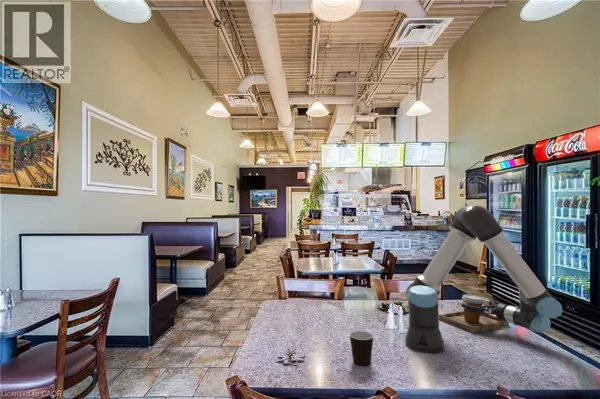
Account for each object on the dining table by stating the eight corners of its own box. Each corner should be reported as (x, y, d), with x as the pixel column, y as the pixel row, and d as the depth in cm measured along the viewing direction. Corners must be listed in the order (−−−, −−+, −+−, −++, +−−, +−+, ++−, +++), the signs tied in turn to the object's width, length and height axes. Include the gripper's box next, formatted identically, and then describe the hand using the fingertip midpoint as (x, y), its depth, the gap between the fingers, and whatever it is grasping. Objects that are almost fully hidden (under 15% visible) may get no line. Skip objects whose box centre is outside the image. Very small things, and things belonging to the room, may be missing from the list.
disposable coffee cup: (481, 319, 156) (482, 296, 157) (484, 326, 148) (485, 301, 148) (460, 316, 160) (461, 293, 160) (461, 322, 151) (462, 297, 152)
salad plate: (390, 302, 193) (390, 295, 193) (418, 308, 180) (418, 300, 180) (373, 309, 179) (373, 301, 180) (401, 316, 166) (401, 308, 167)
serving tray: (472, 333, 141) (472, 327, 142) (438, 319, 160) (438, 314, 160) (508, 325, 150) (508, 320, 150) (472, 313, 169) (472, 309, 169)
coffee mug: (369, 370, 109) (368, 341, 109) (346, 364, 113) (346, 336, 114) (379, 357, 119) (378, 331, 119) (358, 352, 123) (357, 326, 124)
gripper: (489, 326, 134) (449, 312, 154) (527, 318, 143) (485, 306, 163) (488, 308, 135) (449, 296, 155) (526, 302, 144) (485, 291, 164)
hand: (467, 301), depth 159 cm, fingers open, 13 cm apart
